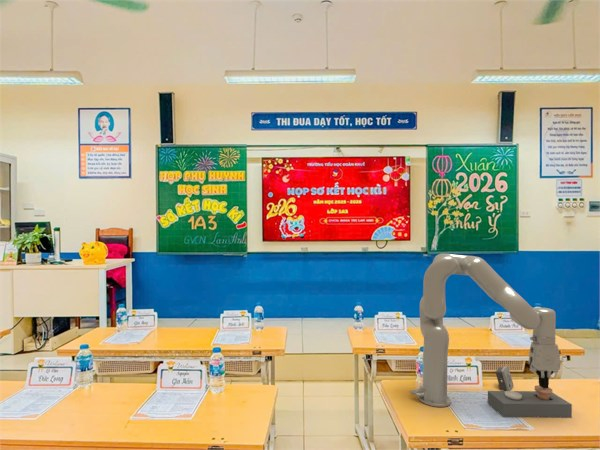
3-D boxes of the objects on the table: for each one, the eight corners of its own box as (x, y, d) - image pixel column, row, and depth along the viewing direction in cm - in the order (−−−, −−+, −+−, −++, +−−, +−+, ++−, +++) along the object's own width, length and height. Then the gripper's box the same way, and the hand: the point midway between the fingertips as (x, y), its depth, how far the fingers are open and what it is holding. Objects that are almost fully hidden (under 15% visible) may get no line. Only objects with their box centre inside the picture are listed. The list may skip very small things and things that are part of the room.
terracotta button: (540, 404, 152) (540, 391, 152) (531, 397, 158) (531, 385, 158) (555, 404, 152) (556, 391, 152) (545, 398, 158) (545, 385, 158)
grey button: (509, 410, 152) (509, 397, 152) (501, 403, 158) (501, 390, 158) (525, 410, 152) (525, 397, 152) (516, 403, 158) (516, 390, 158)
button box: (503, 417, 149) (503, 403, 149) (487, 403, 161) (487, 390, 161) (571, 417, 149) (571, 404, 149) (550, 403, 161) (550, 391, 161)
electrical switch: (509, 392, 172) (507, 370, 173) (496, 390, 175) (494, 369, 176) (513, 386, 179) (512, 365, 180) (501, 384, 182) (499, 364, 183)
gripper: (531, 342, 152) (530, 390, 151) (569, 342, 152) (569, 391, 152) (519, 337, 159) (519, 383, 159) (556, 337, 160) (555, 383, 159)
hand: (543, 386), depth 155 cm, fingers closed
